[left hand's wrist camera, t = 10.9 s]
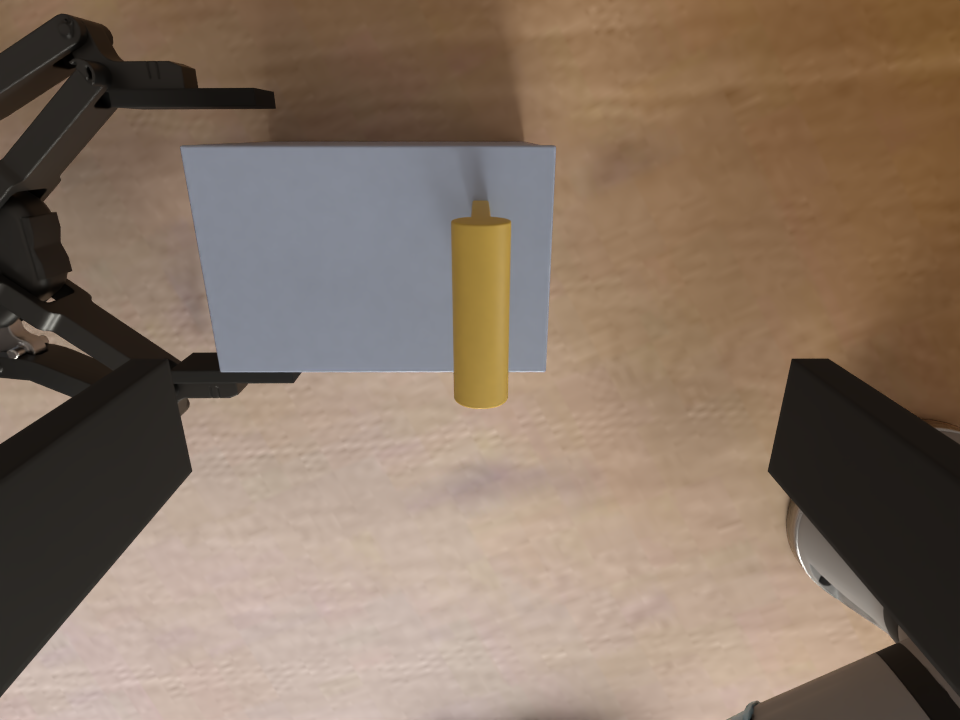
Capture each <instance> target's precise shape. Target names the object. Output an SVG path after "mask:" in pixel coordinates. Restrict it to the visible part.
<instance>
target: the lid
mask: <svg viewBox="0 0 960 720" xmlns="http://www.w3.org/2000/svg"><path fill="white" fill-rule="evenodd" d="M180 149H181V155H182V160H183V166H184V171H185V177H186V183H187V188H188V194H189V199H190V205H191V211H192V216H193V222H194V227H195V233H196V238H197V244H198V250H199V255H200V261H201V266H202V272H203V277H204V283H205V289H206V294H207V300H208V305H209V311H210V316H211V322H212V328H213V333H214V339H215V344H216V350H217V356H218V361H219V367H220V371H221V372H454V398H455V400H456V402H457V403H459V404H460V405H462V406H465V407H468V408H474V409H488V408H494V407H497V406H500V405H502V404H503V403H505V402H506V400H507V398H508V372H545V371H546V356H547V334H548V312H549V290H550V268H551V246H552V224H553V203H554V181H555V159H556V146H554V145H183V146H180Z"/></svg>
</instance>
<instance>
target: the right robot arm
mask: <svg viewBox="0 0 960 720" xmlns="http://www.w3.org/2000/svg"><path fill="white" fill-rule="evenodd" d="M112 45H113V36H112V34H111V32H110V31H109V30H108V28H107V27H105V26H104V25H102V24H99V23H95V22H92V21H88V20H85V19H81V18H78V17H74V16H71V15H67V14H59V15H56V16H55V17H54V18H52V19H51V20H49V21H48V22H46V23H45V24H43V25H42V26H40V27H39V28H37V29H36V30H34V31H33V32H31V33H30V34H28V35H27V36H25V37H24V38H22V39H21V40H19V41H18V42H16V43H15V44H13V45H12V46H10V47H9V48H7V49H6V50H5V51H3V52H2V53H0V120H2V119H3V118H5V117H7V116H9V115H10V114H12V113H13V112H15V111H16V110H18V109H20V108H21V107H23V106H24V105H26V104H27V103H29V102H30V101H32V100H33V99H35V98H37V97H38V96H40V95H41V94H43V93H44V92H46V91H47V90H49V89H50V88H52V87H54V86H55V85H57V84H58V83H60V82H61V81H63V80H64V79H66V78H67V77H69V76H70V75H71V76H70V77H69V78H68V79H67V81H66V82H65V83H64V84H63V86H62V87H61V88H60V89H59V90H58V92H57V93H56V94H55V95H54V97H53V98H52V99H51V100H50V101H49V103H48V104H47V105H46V106H45V108H44V109H43V110H42V111H41V113H40V114H39V115H38V116H37V117H36V119H35V120H34V121H33V122H32V124H31V125H30V126H29V127H28V128H27V130H26V131H25V132H24V133H23V135H22V136H21V137H20V138H19V139H18V141H17V142H16V143H15V144H14V146H13V147H12V148H11V149H10V151H9V152H8V153H7V154H6V155H5V157H4V158H3V159H2V160H0V378H10V379H20V380H30V381H32V382H35V383H37V384H40V385H43V386H45V387H48V388H50V389H53V390H55V391H58V392H60V393H63V394H65V395H68V396H70V397H74V396H75V395H77V394H78V393H80V392H81V391H83V390H84V389H86V388H87V387H89V386H91V385H92V384H94V383H95V382H97V381H98V380H100V379H101V378H103V377H104V376H106V375H107V374H109V373H111V372H112V371H114V370H115V369H117V368H118V367H120V366H121V365H123V364H124V363H126V362H127V361H129V360H131V359H168V360H169V365H170V370H171V374H172V379H173V384H174V388H175V393H176V398H177V402H178V407H179V412H180V416H181V415H182V414H183V413H184V412H185V411H187V410H188V408H189V405H190V403H189V400H188V398H231V397H233V396H236V395H238V394H239V393H240V392H241V391H242V390H243V389H244V388H245V387H246V386H247V385H248V383H294V382H295V380H296V379H297V378H298V376H299V375H300V374H301V372H221V371H220V367H219V361H218V356H217V353H192V354H191V355H190V356H188V357H187V358H186V359H184V360H183V361H182V362H181V361H179V360H178V359H177V358H175V357H174V356H172V355H171V354H169V353H168V352H166V351H165V350H163V349H162V348H160V347H159V346H157V345H156V344H154V343H153V342H151V341H150V340H148V339H147V338H145V337H144V336H142V335H141V334H139V333H138V332H136V331H135V330H133V329H132V328H130V327H129V326H127V325H126V324H124V323H123V322H121V321H120V320H118V319H117V318H115V317H114V316H112V315H111V314H109V313H108V312H106V311H105V310H103V309H102V308H101V307H99V306H98V305H96V304H95V303H93V302H92V297H91V295H90V294H89V293H87V292H86V291H84V290H83V289H81V288H80V287H78V286H77V285H76V284H74V283H73V282H71V281H70V280H68V279H67V273H68V272H71V271H72V268H71V264H70V261H69V257H68V255H67V253H66V251H65V250H64V248H63V246H62V244H61V239H60V224H59V220H58V216H57V212H51V211H50V209H49V208H48V207H47V205H46V204H45V203H44V202H43V201H44V200H45V199H46V198H47V197H48V195H49V194H50V193H51V192H52V191H53V190H54V188H55V187H56V186H57V185H58V184H59V182H60V181H61V179H60V175H61V173H62V172H63V171H64V170H65V169H66V168H67V166H68V165H69V164H70V163H71V162H72V161H73V159H74V158H75V157H76V156H77V155H78V154H79V152H80V151H81V150H82V149H83V148H84V147H85V145H86V144H87V143H88V142H89V141H90V140H91V138H92V137H93V136H94V135H95V134H96V133H97V132H98V130H99V129H100V128H101V127H102V126H103V125H104V123H105V122H106V121H107V120H108V119H109V118H110V116H111V115H112V114H113V113H114V112H115V111H116V109H117V108H131V109H276V107H275V99H274V92H272V91H266V90H261V89H256V88H198V83H197V77H196V72H195V69H193V68H191V67H189V66H186V65H184V64H179V63H175V62H171V61H123V60H122V59H121V58H120V57H119V56H118V55H117V53H116V51H115V50H114V48H113V46H112ZM51 297H52V298H53V299H55V301H53V302H46V301H47V300H48V299H49V298H51ZM23 320H24V321H26V322H27V323H29V324H30V325H32V326H33V327H35V328H37V329H39V330H43V331H52V332H54V333H56V334H57V335H59V336H60V337H62V338H64V339H65V340H67V341H68V342H70V343H71V344H73V345H74V346H76V347H77V348H79V349H81V350H82V351H84V352H85V353H87V354H88V355H90V356H91V357H89V356H87V355H84V354H82V353H79V352H77V351H75V350H72V349H69V348H66V347H63V346H59V345H55V344H48V343H49V340H48V338H47V337H46V336H44V335H40V336H37V335H34V334H31V333H29V332H28V331H27V330H26V329H25V328H24V327H23V325H22V322H21V321H23ZM92 357H93V358H92Z"/></svg>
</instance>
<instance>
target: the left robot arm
mask: <svg viewBox="0 0 960 720" xmlns="http://www.w3.org/2000/svg"><path fill="white" fill-rule="evenodd" d="M191 472H192V468H191V463H190V459H189V454H188V449H187V445H186V440H185V435H184V430H183V426H182V421H181V416H180V412H179V407H178V402H177V398H176V393H175V388H174V384H173V379H172V374H171V370H170V365H169V360H168V359H131V360H129V361H127V362H126V363H124V364H123V365H121V366H120V367H118V368H117V369H115V370H114V371H112V372H111V373H109V374H107V375H106V376H104V377H103V378H101V379H100V380H98V381H97V382H95V383H94V384H92V385H91V386H89V387H87V388H86V389H84V390H83V391H81V392H80V393H78V394H77V395H75V396H74V397H72V398H71V399H69V400H67V401H66V402H64V403H63V404H61V405H60V406H58V407H57V408H55V409H54V410H52V411H51V412H49V413H47V414H46V415H44V416H43V417H41V418H40V419H38V420H37V421H35V422H34V423H32V424H31V425H29V426H28V427H26V428H24V429H23V430H21V431H20V432H18V433H17V434H15V435H14V436H12V437H11V438H9V439H8V440H6V441H4V442H3V443H1V444H0V697H1V696H2V695H3V694H4V692H5V691H6V690H7V689H8V688H9V686H10V685H11V684H12V683H13V682H14V681H15V679H16V678H17V677H18V676H19V675H20V673H21V672H22V671H23V670H24V669H25V668H26V666H27V665H28V664H29V663H30V662H31V661H32V659H33V658H34V657H35V656H36V655H37V653H38V652H39V651H40V650H41V649H42V648H43V646H44V645H45V644H46V643H47V642H48V641H49V639H50V638H51V637H52V636H53V635H54V633H55V632H56V631H57V630H58V629H59V628H60V626H61V625H62V624H63V623H64V622H65V620H66V619H67V618H68V617H69V616H70V615H71V613H72V612H73V611H74V610H75V609H76V608H77V606H78V605H79V604H80V603H81V602H82V600H83V599H84V598H85V597H86V596H87V595H88V593H89V592H90V591H91V590H92V589H93V588H94V586H95V585H96V584H97V583H98V582H99V580H100V579H101V578H102V577H103V576H104V575H105V573H106V572H107V571H108V570H109V569H110V567H111V566H112V565H113V564H114V563H115V562H116V560H117V559H118V558H119V557H120V556H121V555H122V553H123V552H124V551H125V550H126V549H127V547H128V546H129V545H130V544H131V543H132V542H133V540H134V539H135V538H136V537H137V536H138V535H139V533H140V532H141V531H142V530H143V529H144V527H145V526H146V525H147V524H148V523H149V522H150V520H151V519H152V518H153V517H154V516H155V514H156V513H157V512H158V511H159V510H160V509H161V507H162V506H163V505H164V504H165V503H166V502H167V500H168V499H169V498H170V497H171V496H172V494H173V493H174V492H175V491H176V490H177V489H178V487H179V486H180V485H181V484H182V483H183V482H184V480H185V479H186V478H187V477H188V476H189V474H190V473H191ZM768 472H769V473H770V474H771V476H772V477H773V478H774V479H775V480H776V482H777V483H778V484H779V485H780V486H781V487H782V489H783V490H784V491H785V492H786V493H787V494H788V496H789V497H790V498H791V499H792V500H791V502H790V506H789V509H788V514H787V524H786V529H787V537H788V542H789V545H790V548H791V550H792V552H793V554H794V556H795V557H796V559H797V560H798V562H799V563H800V564H801V566H802V567H803V568H804V570H805V571H806V572H807V574H808V575H809V577H810V578H811V579H812V580H813V581H814V582H815V583H816V584H817V585H819V586H820V587H821V588H822V589H824V590H825V591H826V592H827V593H829V594H830V595H832V596H833V597H835V598H836V599H838V600H840V601H841V602H842V603H844V604H845V605H846V606H848V607H849V608H851V609H852V610H854V611H855V612H857V613H858V614H860V615H861V616H863V617H864V618H866V619H867V620H869V621H870V622H872V623H873V624H875V625H876V626H878V627H879V628H880V629H882V630H883V631H885V632H886V633H888V634H889V636H890V637H891V638H892V639H893V640H894V641H895V643H896V644H894V645H891V646H889V647H887V648H885V649H882V650H880V651H878V652H876V653H873V654H871V655H869V656H867V657H864V658H862V659H860V660H858V661H855V662H853V663H851V664H848V665H846V666H844V667H842V668H839V669H837V670H835V671H832V672H830V673H828V674H826V675H823V676H821V677H819V678H816V679H814V680H812V681H810V682H807V683H805V684H803V685H800V686H798V687H796V688H794V689H791V690H789V691H787V692H784V693H782V694H780V695H778V696H775V697H773V698H771V699H768V700H766V701H764V702H762V703H760V702H759V701H754V702H751V703H749V704H748V705H747V706H746V708H745V710H744V711H743V712H741V713H739V714H737V715H735V716H733V717H731V718H729V719H727V720H960V428H959V427H957V426H954V425H951V424H948V423H945V422H940V421H935V420H925V419H920V418H919V417H917V416H916V415H914V414H913V413H911V412H909V411H908V410H906V409H905V408H903V407H902V406H900V405H899V404H897V403H896V402H894V401H893V400H891V399H889V398H888V397H886V396H885V395H883V394H882V393H880V392H879V391H877V390H876V389H874V388H873V387H871V386H869V385H868V384H866V383H865V382H863V381H862V380H860V379H859V378H857V377H856V376H854V375H853V374H851V373H849V372H848V371H846V370H845V369H843V368H842V367H840V366H839V365H837V364H836V363H834V362H833V361H831V360H829V359H792V360H791V365H790V370H789V374H788V379H787V384H786V388H785V393H784V398H783V402H782V407H781V412H780V416H779V421H778V426H777V430H776V435H775V440H774V445H773V449H772V454H771V459H770V463H769V468H768Z"/></svg>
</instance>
